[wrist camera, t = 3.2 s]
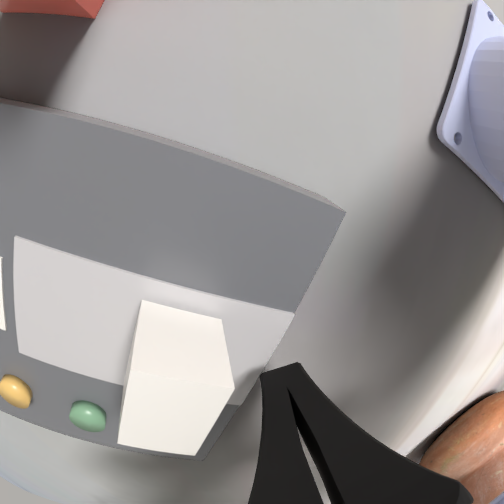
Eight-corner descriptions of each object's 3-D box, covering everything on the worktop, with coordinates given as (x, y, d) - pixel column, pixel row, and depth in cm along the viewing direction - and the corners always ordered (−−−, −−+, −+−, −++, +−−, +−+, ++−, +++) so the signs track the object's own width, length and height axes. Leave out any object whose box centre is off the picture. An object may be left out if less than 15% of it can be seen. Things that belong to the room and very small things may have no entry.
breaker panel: (325, 198, 10) (356, 219, 8) (200, 438, 15) (204, 470, 13) (-10, 96, 6) (-46, 98, 4) (-5, 383, 11) (-17, 412, 9)
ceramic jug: (520, 348, 21) (591, 434, 8) (505, 399, 27) (551, 464, 15) (381, 456, 23) (432, 566, 10) (400, 475, 29) (436, 551, 17)
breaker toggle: (221, 319, 9) (234, 388, 7) (189, 393, 10) (194, 455, 8) (142, 299, 8) (130, 369, 6) (124, 379, 9) (117, 443, 7)
